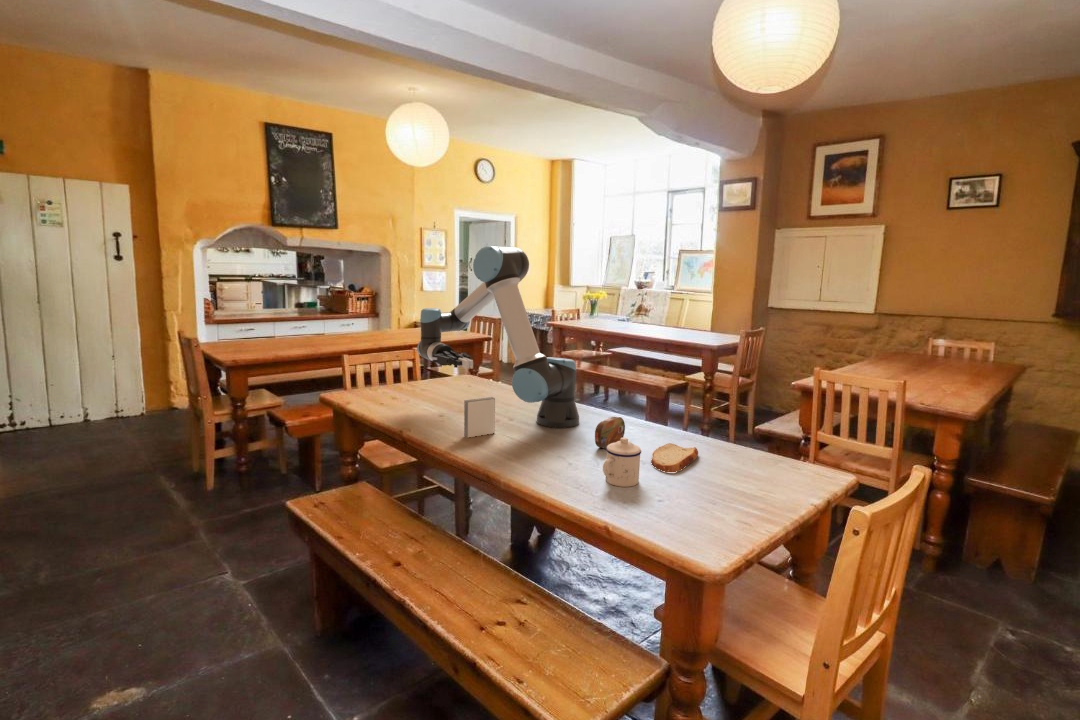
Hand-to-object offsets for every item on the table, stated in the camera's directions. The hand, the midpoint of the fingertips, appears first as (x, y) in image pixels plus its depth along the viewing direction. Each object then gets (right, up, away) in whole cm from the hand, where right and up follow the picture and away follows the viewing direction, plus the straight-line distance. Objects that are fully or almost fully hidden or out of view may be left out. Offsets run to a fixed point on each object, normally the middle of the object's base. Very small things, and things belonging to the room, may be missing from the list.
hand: (469, 364), depth 185 cm
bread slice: (+63, -28, -21) cm, 72 cm away
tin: (+45, -25, -9) cm, 52 cm away
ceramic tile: (+3, -23, -2) cm, 23 cm away
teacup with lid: (+44, -31, -39) cm, 66 cm away
